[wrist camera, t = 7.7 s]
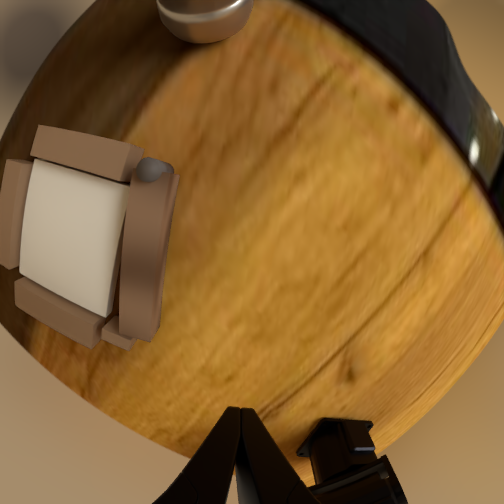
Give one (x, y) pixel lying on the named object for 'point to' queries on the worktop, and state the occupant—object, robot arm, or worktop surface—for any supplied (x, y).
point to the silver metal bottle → (204, 18)
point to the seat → (68, 231)
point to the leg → (146, 247)
